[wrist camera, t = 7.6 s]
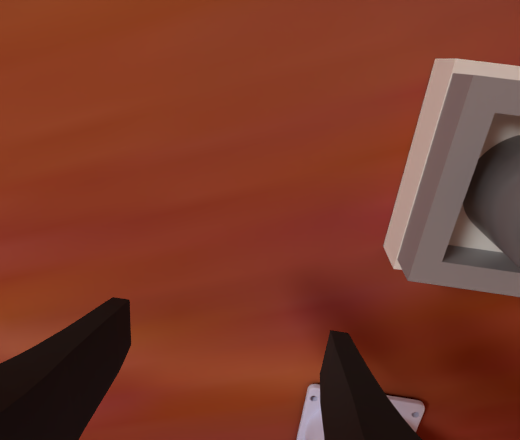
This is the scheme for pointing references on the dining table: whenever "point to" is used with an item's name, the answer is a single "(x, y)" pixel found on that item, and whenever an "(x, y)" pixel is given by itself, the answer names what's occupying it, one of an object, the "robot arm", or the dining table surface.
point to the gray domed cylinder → (497, 197)
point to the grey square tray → (454, 179)
